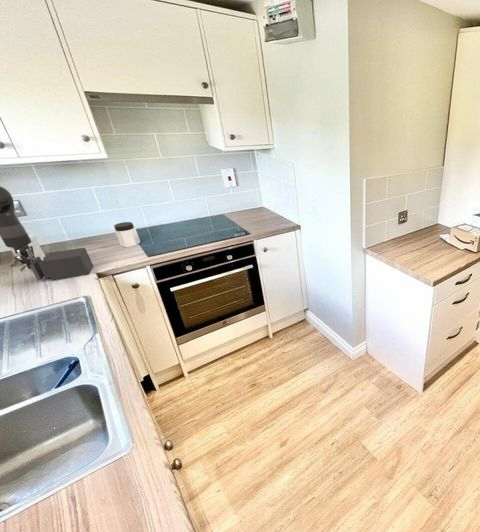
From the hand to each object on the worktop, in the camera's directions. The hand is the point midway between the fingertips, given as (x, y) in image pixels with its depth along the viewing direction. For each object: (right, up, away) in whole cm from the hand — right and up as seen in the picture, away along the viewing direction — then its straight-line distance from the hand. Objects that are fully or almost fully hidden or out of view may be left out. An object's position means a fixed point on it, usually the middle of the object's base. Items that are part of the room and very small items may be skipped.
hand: (33, 270), depth 144 cm
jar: (+11, +14, +39) cm, 43 cm away
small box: (-20, +4, +17) cm, 26 cm away
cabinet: (+10, -1, +8) cm, 13 cm away
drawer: (+3, -2, +4) cm, 6 cm away
